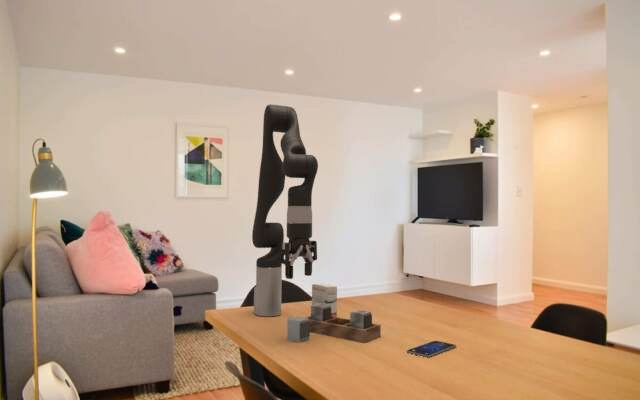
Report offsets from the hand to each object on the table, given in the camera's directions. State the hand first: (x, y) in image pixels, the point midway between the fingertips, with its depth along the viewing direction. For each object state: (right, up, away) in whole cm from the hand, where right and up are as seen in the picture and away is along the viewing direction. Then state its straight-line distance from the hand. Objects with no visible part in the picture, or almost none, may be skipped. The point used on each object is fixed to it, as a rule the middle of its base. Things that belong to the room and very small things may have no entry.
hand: (298, 277), depth 138 cm
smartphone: (+37, -19, -10) cm, 42 cm away
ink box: (+8, -19, +26) cm, 33 cm away
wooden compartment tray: (+12, -18, +7) cm, 23 cm away
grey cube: (0, -18, -1) cm, 18 cm away
